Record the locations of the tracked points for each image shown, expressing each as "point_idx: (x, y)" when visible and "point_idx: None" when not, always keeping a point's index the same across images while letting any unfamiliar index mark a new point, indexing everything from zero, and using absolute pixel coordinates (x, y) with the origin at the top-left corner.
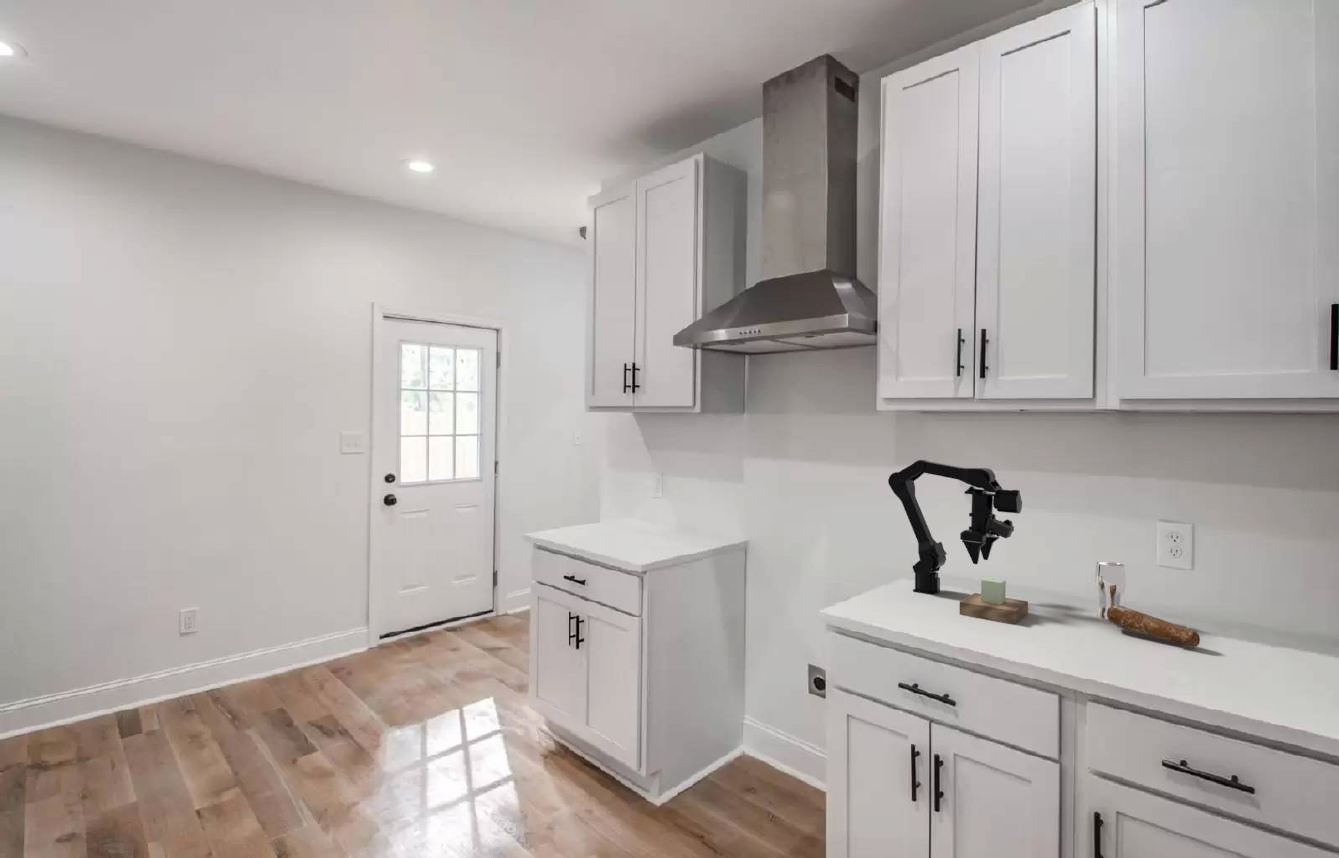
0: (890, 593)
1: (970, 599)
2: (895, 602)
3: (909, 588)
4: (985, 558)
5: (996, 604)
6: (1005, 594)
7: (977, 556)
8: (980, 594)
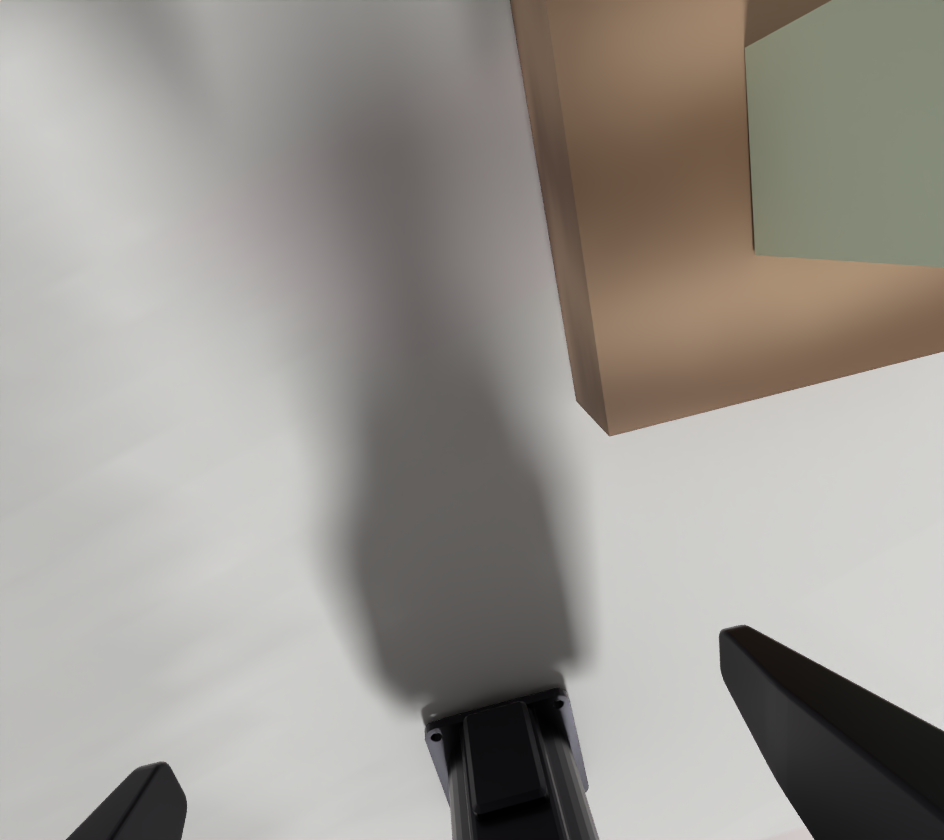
0: (717, 804)
1: (900, 317)
2: (901, 677)
3: None
4: (168, 806)
5: None
6: (797, 19)
7: (926, 728)
8: (631, 373)
